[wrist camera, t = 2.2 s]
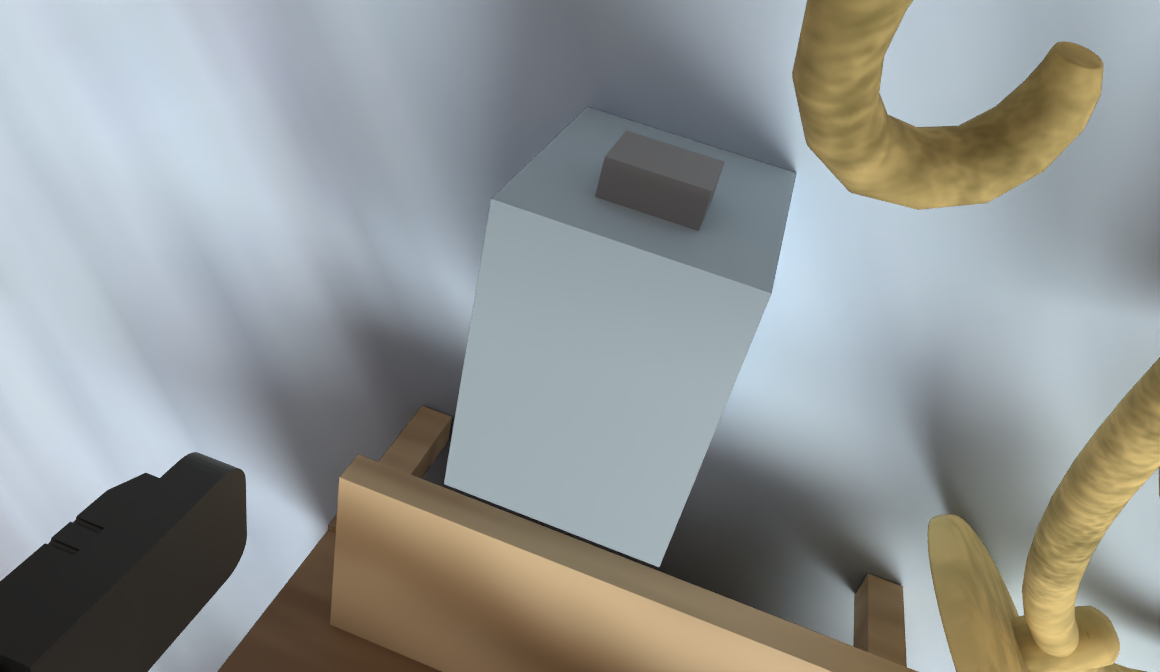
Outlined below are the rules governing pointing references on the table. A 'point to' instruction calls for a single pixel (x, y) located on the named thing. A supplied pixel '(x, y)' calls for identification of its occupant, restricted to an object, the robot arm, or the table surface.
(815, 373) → the table surface
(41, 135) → the table surface
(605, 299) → the grey rectangular box
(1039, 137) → the wall sconce
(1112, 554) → the table surface
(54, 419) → the table surface
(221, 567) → the robot arm
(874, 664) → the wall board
